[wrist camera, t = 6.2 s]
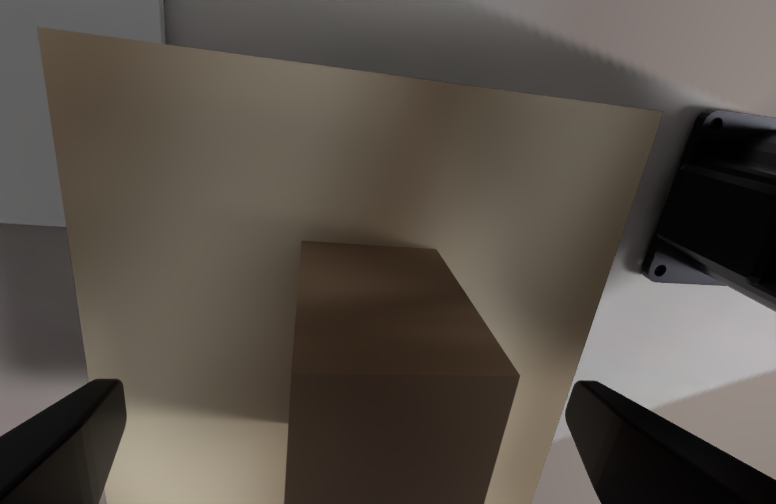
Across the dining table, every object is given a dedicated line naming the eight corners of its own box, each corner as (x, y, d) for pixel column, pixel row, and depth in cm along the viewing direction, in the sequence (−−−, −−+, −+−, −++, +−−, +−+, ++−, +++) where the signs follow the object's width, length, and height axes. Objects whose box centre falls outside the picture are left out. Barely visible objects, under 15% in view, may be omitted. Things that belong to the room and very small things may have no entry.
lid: (633, 107, 11) (923, 145, 6) (516, 481, 15) (618, 691, 10) (67, 30, 8) (-311, -22, 3) (125, 496, 13) (1, 778, 8)
